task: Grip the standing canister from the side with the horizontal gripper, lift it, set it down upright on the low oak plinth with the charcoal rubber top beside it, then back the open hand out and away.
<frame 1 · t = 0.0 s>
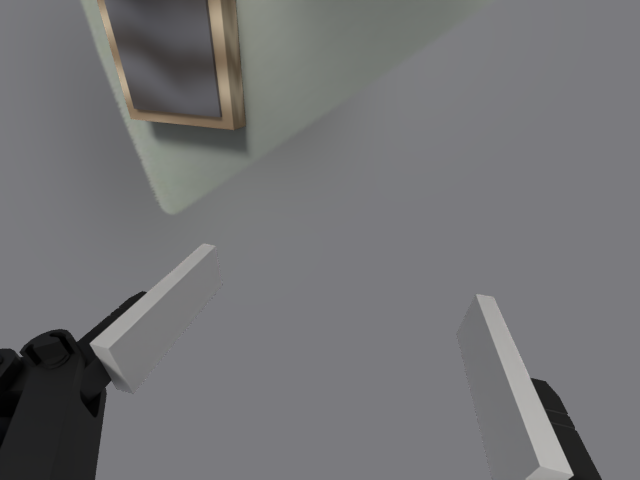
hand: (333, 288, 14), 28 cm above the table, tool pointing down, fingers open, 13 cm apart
plinth: (184, 56, 36), on the table
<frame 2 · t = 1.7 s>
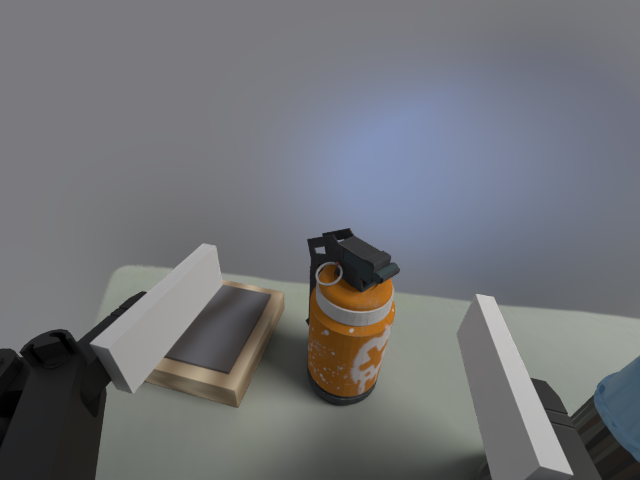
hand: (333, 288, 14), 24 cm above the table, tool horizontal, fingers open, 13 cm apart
canister: (335, 367, 36), on the table
plinth: (213, 336, 39), on the table
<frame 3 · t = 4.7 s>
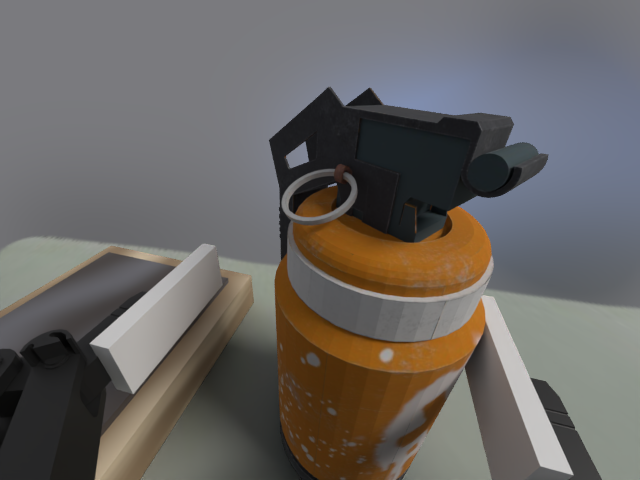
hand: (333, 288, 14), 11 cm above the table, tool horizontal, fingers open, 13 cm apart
canister: (334, 409, 20), on the table
plinth: (121, 348, 23), on the table
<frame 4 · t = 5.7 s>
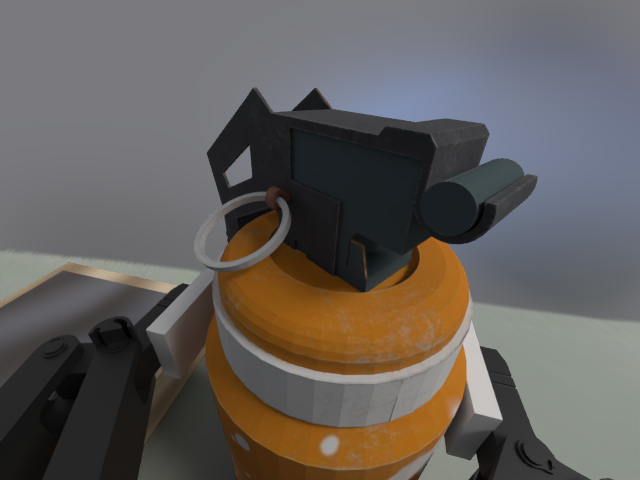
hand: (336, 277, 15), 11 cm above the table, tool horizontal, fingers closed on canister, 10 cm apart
canister: (308, 452, 17), on the table, touching gripper
plinth: (70, 382, 20), on the table
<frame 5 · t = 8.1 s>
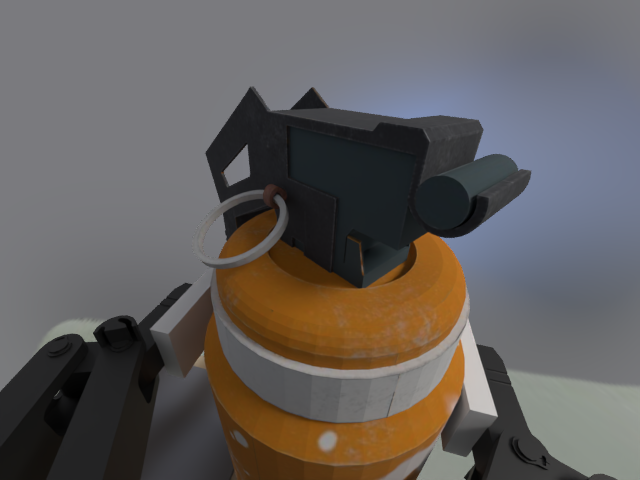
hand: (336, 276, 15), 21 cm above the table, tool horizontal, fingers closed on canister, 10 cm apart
canister: (308, 452, 17), point 10 cm above the table, touching gripper
plinth: (174, 460, 25), on the table
when the fingers open (16 cm above the table, at t = 10.2 s): canister drops 2 cm, resting on plinth.
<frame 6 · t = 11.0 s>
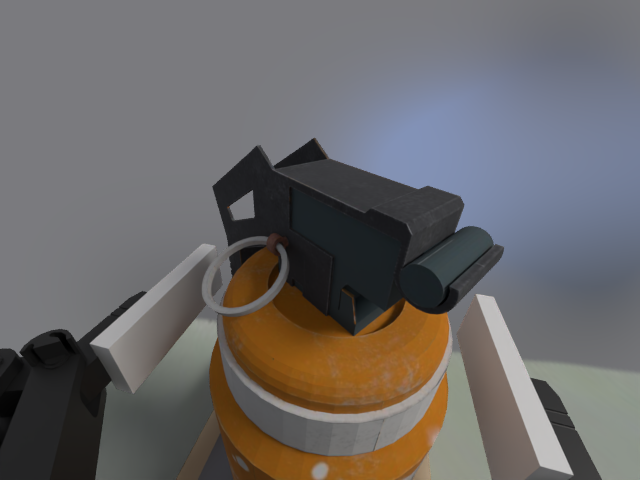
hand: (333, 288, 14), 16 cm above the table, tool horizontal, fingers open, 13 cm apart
canister: (303, 459, 18), point 4 cm above the table, touching plinth
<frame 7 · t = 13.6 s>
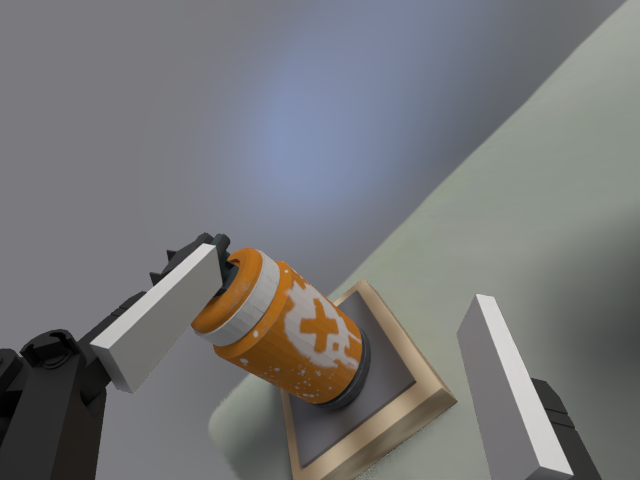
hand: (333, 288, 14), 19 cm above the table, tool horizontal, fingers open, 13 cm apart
canister: (331, 365, 30), point 4 cm above the table, touching plinth
plinth: (353, 377, 32), on the table
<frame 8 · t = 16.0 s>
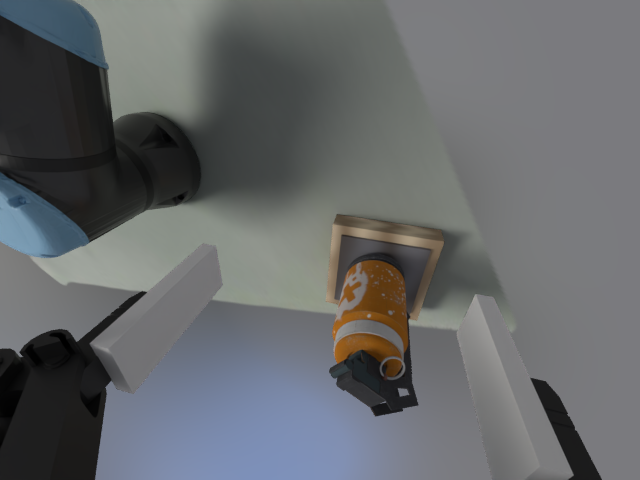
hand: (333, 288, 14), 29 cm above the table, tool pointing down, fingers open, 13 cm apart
canister: (379, 278, 44), point 4 cm above the table, touching plinth
plinth: (378, 263, 47), on the table
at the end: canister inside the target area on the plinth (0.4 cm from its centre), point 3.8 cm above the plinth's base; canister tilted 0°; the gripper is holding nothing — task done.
